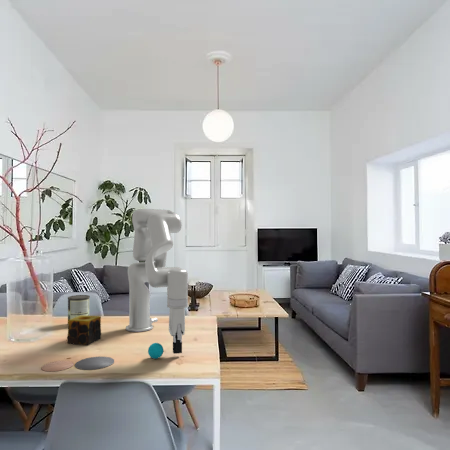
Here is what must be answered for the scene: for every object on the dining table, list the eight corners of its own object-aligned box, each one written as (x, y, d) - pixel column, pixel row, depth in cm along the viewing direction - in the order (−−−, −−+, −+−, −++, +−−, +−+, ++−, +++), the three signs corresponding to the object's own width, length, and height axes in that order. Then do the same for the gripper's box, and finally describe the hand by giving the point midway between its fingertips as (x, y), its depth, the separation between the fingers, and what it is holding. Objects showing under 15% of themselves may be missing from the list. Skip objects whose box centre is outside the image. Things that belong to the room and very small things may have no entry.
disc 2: (101, 354, 139) (101, 354, 139) (121, 362, 131) (121, 361, 131) (67, 363, 129) (67, 363, 129) (86, 372, 121) (87, 372, 121)
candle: (88, 345, 151) (88, 321, 151) (66, 344, 153) (66, 320, 153) (101, 339, 161) (101, 315, 161) (80, 337, 163) (80, 314, 163)
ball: (156, 354, 139) (157, 340, 139) (166, 358, 135) (166, 342, 135) (144, 358, 135) (145, 343, 135) (154, 361, 131) (154, 346, 131)
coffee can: (62, 325, 184) (63, 297, 185) (80, 321, 193) (80, 294, 194) (76, 328, 179) (76, 298, 180) (93, 323, 188) (94, 295, 188)
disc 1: (65, 359, 134) (65, 358, 134) (79, 365, 127) (79, 364, 127) (36, 366, 126) (36, 366, 126) (49, 373, 120) (49, 373, 120)
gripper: (165, 299, 144) (165, 347, 143) (169, 307, 129) (169, 360, 129) (184, 299, 146) (184, 346, 145) (190, 305, 131) (190, 358, 131)
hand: (177, 352), depth 137 cm, fingers closed
